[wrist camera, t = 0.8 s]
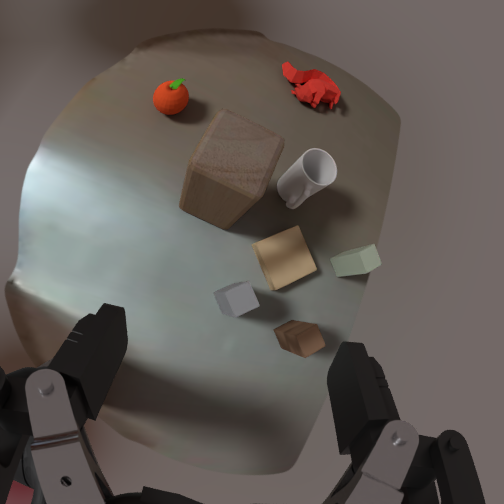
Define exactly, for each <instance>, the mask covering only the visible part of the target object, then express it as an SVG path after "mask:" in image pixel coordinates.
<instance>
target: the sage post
mask: <svg viewBox="0 0 504 504" xmlns="http://www.w3.org/2000/svg"><path fill="white" fill-rule="evenodd" d="M330 260H331V263H332V265H333V268H334V270H335V273H336V275H337V277H341V276H350V275H358V274H366V273H368V272H370V271H372V270H373V269H375V268H377V267H378V266H380V265H382V263H381V260H380V258H379V255H378V252H377V250H376V247H375V245H374V244H372V245H368V246H364V247H360V248H356V249H352V250H348V251H344V252H342V253H340V254H338V255H336V256H334V257H332V258H330Z"/></svg>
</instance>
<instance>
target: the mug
mask: <svg viewBox="0 0 504 504" xmlns="http://www.w3.org/2000/svg"><path fill="white" fill-rule="evenodd" d="M336 176H337V167H336V164H335V161H334V160H333V158H332V157H331V156H330V155H329V154H328V153H327V152H326V151H324V150H321V149H317V148H313V149H309V150H308V151H306V152H305V153H304V154H303V155H302V156H301V157H300V158H299V159H298V160H297V161H296V162H295V163H294V164H293V165H292V166H291V167H290V168H289V169H288V170H287V171H286V172H285V173H284V174H283V175H282V176H281V178H280V179H279V180H278V183H277V190H278V193H279V195H280V197H281V198H282V199H283V200H285V201H286V202H287V203H286V207H288V208H290V209H295V208H297V207H298V206H299V205H301V204H302V203H303V202H304V201H305V199H306V198H308V197H309V196H311V195H313V194H315V193H316V192H318V191H320V190H321V189H323V188H325V187H326V186H328V185H330V184H331V183H333V182H334V180H335V179H336Z"/></svg>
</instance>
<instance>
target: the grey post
mask: <svg viewBox="0 0 504 504" xmlns="http://www.w3.org/2000/svg"><path fill="white" fill-rule="evenodd" d="M213 294H214V296H215V298H216V300H217V303H218V305H219V307H220V310H221V312H222V313H223V314H226V315H229V316H232V317H235V318H236V317H238V316H240V315H242V314H244V313H246V312H248V311H251V310H253V309H255V308H257V307H259V306H260V305H259V303H258V300H257V298H256V296H255V293H254V291H253V289H252V286H251V284H250V282H249V281H246V282H239V283H233V284H231V285H229V286H226V287H224V288H222V289H220V290H217V291H215V292H213Z"/></svg>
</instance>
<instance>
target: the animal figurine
mask: <svg viewBox="0 0 504 504" xmlns="http://www.w3.org/2000/svg"><path fill="white" fill-rule="evenodd" d="M282 68H283V75H284V76H285V77H286V78H287V79H288V81H289V82H291V83H298V84H296V85H297V86H298V87H296V88H295V91H293V90H291V91H292V94H295V95H296V96H297V98H298V100H299V101H301V102H308V103H310V104H311V106H312V107H314V108H315V107H316V105H318V104H319V101H322V102H326V103H329V108H330V109H332V106H333V103H334V102H335V104H336V103H337V102H338V100H339V96H340V93H341V91H340V90H339V88H338V87H337V86H336V85H335V83H334V82H333V81H332V80H331V79H330V78H329V77H328V76H327V75H326V74H324V73H323V72H321V71H318V70H316V69H313V70H309V71H298V70H296V69H295V68H293V66H292V65H291V64H290V63H289V62H286V63H284V64H282ZM306 81H307V82H306ZM303 82H306V83H305V84H304V85H300V84H299V83H303Z"/></svg>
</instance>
